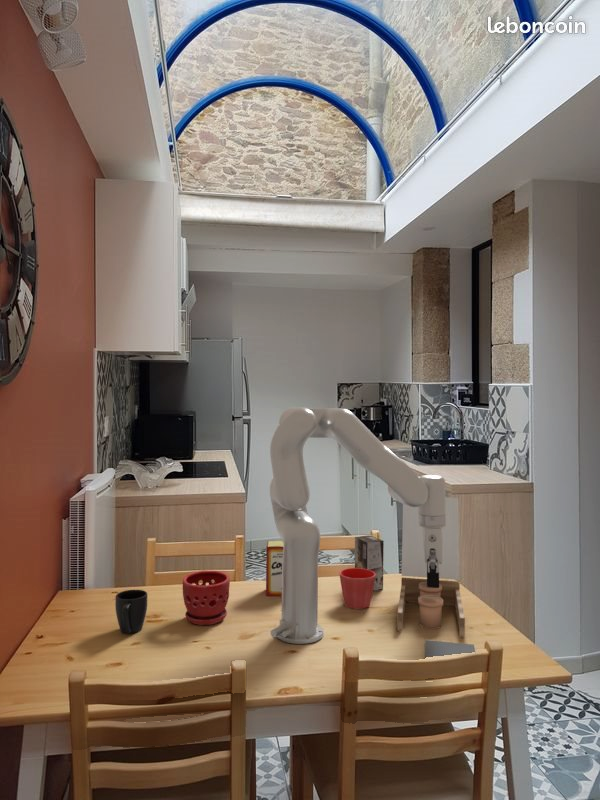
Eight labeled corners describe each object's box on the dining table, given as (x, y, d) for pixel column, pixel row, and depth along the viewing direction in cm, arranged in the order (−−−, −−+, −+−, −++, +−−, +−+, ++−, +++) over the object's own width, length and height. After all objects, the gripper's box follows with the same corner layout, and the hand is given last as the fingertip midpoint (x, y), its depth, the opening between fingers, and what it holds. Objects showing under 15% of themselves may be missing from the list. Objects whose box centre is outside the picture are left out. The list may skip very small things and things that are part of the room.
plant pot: (176, 615, 165) (177, 573, 165) (220, 608, 171) (220, 568, 171) (189, 632, 154) (190, 587, 154) (236, 623, 160) (236, 580, 160)
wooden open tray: (464, 637, 152) (464, 610, 152) (397, 631, 155) (397, 605, 155) (459, 604, 176) (459, 581, 176) (401, 599, 180) (401, 577, 180)
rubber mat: (478, 667, 135) (478, 665, 135) (425, 661, 137) (425, 660, 137) (473, 646, 146) (473, 644, 146) (425, 641, 149) (425, 640, 149)
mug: (107, 642, 147) (107, 604, 147) (119, 624, 159) (120, 589, 159) (139, 642, 147) (140, 604, 147) (150, 623, 159) (150, 589, 159)
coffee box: (384, 589, 190) (384, 540, 190) (366, 592, 187) (367, 542, 187) (370, 581, 198) (371, 534, 198) (353, 583, 196) (354, 536, 196)
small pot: (436, 631, 156) (437, 605, 156) (413, 625, 160) (414, 599, 160) (446, 623, 161) (447, 598, 161) (424, 618, 165) (424, 593, 165)
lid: (458, 498, 184) (458, 498, 186) (403, 495, 188) (403, 496, 190) (459, 579, 177) (458, 579, 178) (401, 575, 180) (401, 575, 182)
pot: (435, 614, 168) (436, 590, 168) (414, 609, 172) (414, 585, 172) (445, 608, 173) (445, 584, 173) (424, 603, 177) (424, 580, 177)
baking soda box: (295, 589, 189) (296, 540, 189) (295, 596, 183) (296, 545, 183) (266, 589, 189) (267, 540, 189) (265, 596, 183) (266, 545, 183)
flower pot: (377, 611, 170) (377, 578, 170) (340, 610, 170) (340, 577, 170) (373, 599, 181) (373, 568, 181) (338, 598, 181) (338, 567, 181)
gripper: (446, 527, 151) (448, 592, 151) (444, 514, 168) (445, 572, 168) (417, 526, 153) (418, 591, 153) (418, 513, 170) (419, 571, 170)
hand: (432, 581), depth 161 cm, fingers open, 9 cm apart
